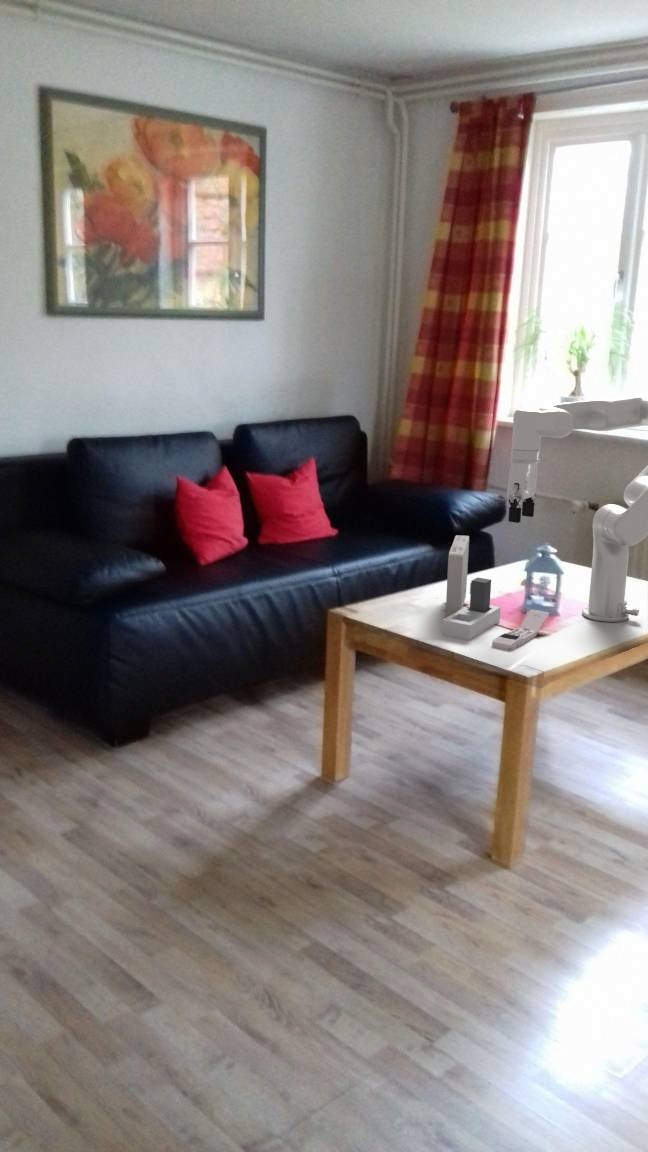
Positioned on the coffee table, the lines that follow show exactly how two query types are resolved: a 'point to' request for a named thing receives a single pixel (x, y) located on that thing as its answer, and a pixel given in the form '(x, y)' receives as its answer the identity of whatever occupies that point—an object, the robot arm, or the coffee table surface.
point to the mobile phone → (522, 631)
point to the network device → (457, 575)
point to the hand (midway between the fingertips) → (521, 519)
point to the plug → (480, 595)
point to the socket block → (469, 622)
